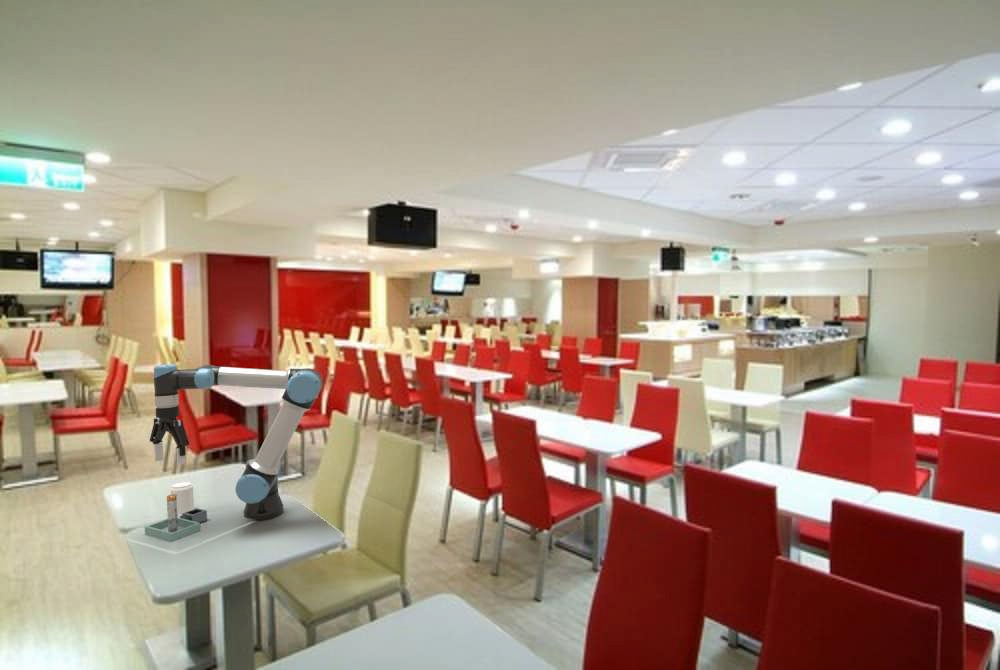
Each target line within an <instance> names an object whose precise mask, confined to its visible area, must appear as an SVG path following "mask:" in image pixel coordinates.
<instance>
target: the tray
mask: <svg viewBox="0 0 1000 670" xmlns="http://www.w3.org/2000/svg"><path fill="white" fill-rule="evenodd" d="M178 527H181V529H178V531H175V532H173V533H171V532H168V530H163V529H166V528H168V518H165V519H163V520H160V521H157V522H154V523H151V524H149V525H145V526H144V535H147V536H150V537H154V538H157V539H161V540H163V541H164V540H165V541H167V542H175V541H177V540H180V539H182V538H185V537H187V536H190V535H193V534H195V533H197V532H200V531H201V524H200V523H198V522H194V521H190V520H186V519H182V518H180V517H178Z"/></svg>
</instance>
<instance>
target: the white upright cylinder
mask: <svg viewBox="0 0 1000 670" xmlns="http://www.w3.org/2000/svg"><path fill="white" fill-rule="evenodd" d="M172 494H176V495H177V515H182V513H185V512H188V511H190V510H193V509H195V498H194V495H195V494H194V485H193V483H192V482H191V481H181V482H177V483H173V484H172V485H171V488H170V495H172Z"/></svg>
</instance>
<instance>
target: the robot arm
mask: <svg viewBox="0 0 1000 670" xmlns="http://www.w3.org/2000/svg"><path fill="white" fill-rule="evenodd" d="M213 386H225V387H241V388H242V387H243V388H260V389H261V388H262V389H277V390H284V391H283V395H282V396H281V399H282V403H283V404H282V405H281V407H280V409H279V410H278V413H277V415H276V417H275V419H274V421H273V423H272V425H271V427H270V428H269V431H268V432H267V435H266V436H265V438H264V441H263V442H262V445H261V447H260V448H259V450H258V452H257V454H256V456H255V458H251V459H248V460H247V461H246V464H245V469H244V471H243V473H242V475H241V476H240V478H239V479H237V482H236V485H235V494H236V496H237V498H238V499H239V500H240V501H241V502H243V503H245V507H244V509H243V517H244V518H247V519H250V520H251V519H252V521H264V520H270V519H274V518H276V517H278V516H281V515H282V514H283V513H284V510H285V509H284V503H283V501H282V500H281V499H282V498H281V496H280V494H279V475H278V474H279V469H278V466H279V463H281V462H280V461H281V459H282V457H283V456H284V453H285V451H286V449H287V448H288V445H289V444H290V442H291V439H292V438H293V435H294V434H295V433H296V431H297V428H298V426H299V424H300V421H301V419H302V417H303V416H304V415H305V412H307V411H310V410H311V409H312V407H313V405H314V402H315V401H316V399H317V397H318V395H319V393H320V392H321V391H322V389H323V386H324V380H323V377H322V375H321V373H320V372H319V371H318V370H316V369H315V368H309V367H307V368H288V369H287V370H281V369H265V368H264V369H263V368H262V369H261V368H247V367H233V366H231V367H230V366H218V365H217V366H216V365H212V364H205V365H202V366H199V367H196V368H191V369H190V368H188V369H178V366H177V364H175V363H174V364H173V363H172V364H158V365H155V366H154V367H153V387H154V388H153V389H154V406H155V418H153V426H152V430H151V433H150V437H149V442H150V443H151V442H152V444H153V451H154V462H156V463H157V462H160V461H164V448H163V447H164V446H163V438H164V436H165V434H166V432H167V433H169V434H170V435H171V437H172V438H173V440H174V442H175V444H176V447H175V448H176V464H177V466H183V465H186V461H187V460H186V447H187V446H189V445H190V441H189V439H188V434H187V432H186V429H185V426H184V422H183V419H177V417H178V416H179V415H180V406H179V404H180V403H179V402H180V401H179V400H180V399H179V397H180V396H179V391H180V390H181V391H182V390H204V389H210V388H212V387H213Z"/></svg>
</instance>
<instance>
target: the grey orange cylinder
mask: <svg viewBox="0 0 1000 670" xmlns="http://www.w3.org/2000/svg"><path fill="white" fill-rule="evenodd" d="M166 508H167V509H166V511H167V513H166V515H167V519H168V527H167V532H171V533H173V532H175V531H178V530H179V526H178V518H179V517H178V514H177V495H176V494H172V495H171V494H169V495H167V496H166Z"/></svg>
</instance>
